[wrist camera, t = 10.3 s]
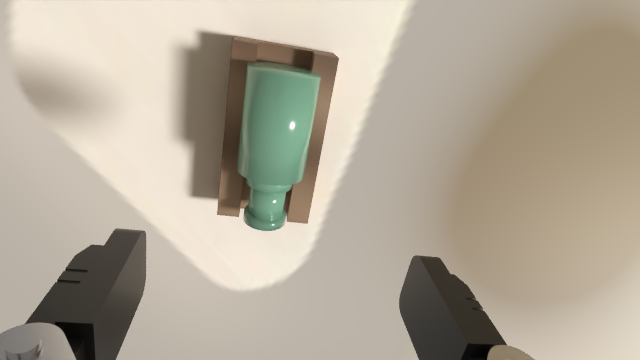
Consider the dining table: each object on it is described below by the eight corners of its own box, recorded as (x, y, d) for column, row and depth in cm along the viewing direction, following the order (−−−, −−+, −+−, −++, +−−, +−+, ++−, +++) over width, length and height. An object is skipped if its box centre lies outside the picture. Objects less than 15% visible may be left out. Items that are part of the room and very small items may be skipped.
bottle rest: (235, 36, 24) (232, 39, 22) (333, 53, 25) (338, 58, 23) (220, 199, 29) (217, 214, 27) (304, 208, 30) (307, 223, 28)
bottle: (247, 58, 23) (247, 71, 20) (315, 69, 24) (326, 83, 21) (233, 202, 27) (230, 234, 24) (292, 207, 28) (298, 239, 24)
